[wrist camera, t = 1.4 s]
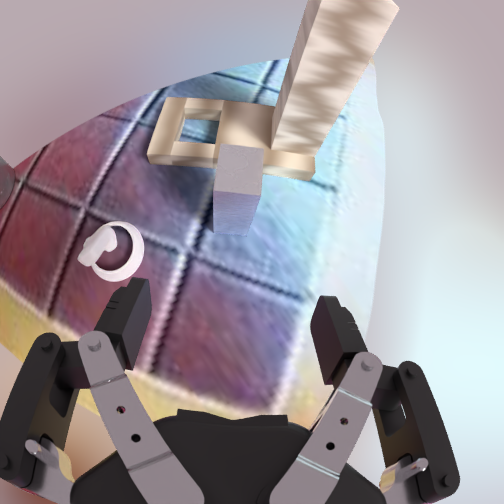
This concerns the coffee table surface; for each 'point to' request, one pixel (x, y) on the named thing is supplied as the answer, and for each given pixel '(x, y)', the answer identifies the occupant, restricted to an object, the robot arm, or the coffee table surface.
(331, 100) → the beam with square loop
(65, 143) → the coffee table surface
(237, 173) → the smooth gray rectangular block
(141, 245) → the white vr controller
